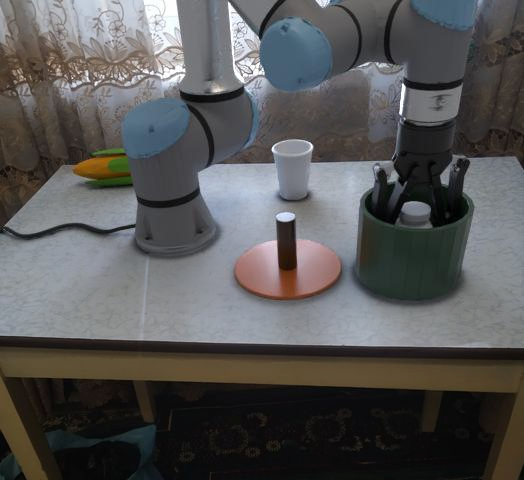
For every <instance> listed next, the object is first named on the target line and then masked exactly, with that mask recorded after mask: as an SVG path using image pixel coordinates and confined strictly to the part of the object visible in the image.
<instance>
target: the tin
mask: <svg viewBox="0 0 524 480" xmlns="http://www.w3.org/2000/svg"><path fill="white" fill-rule="evenodd" d="M387 182H388V187H387V194H386V200H385V206H384V212H385V210H386V207H387V205H388V203H389V200H390V198H391V196H392V193H393V191H394V188H395V182H396V180H393V181H387ZM441 184H442V188H441V190H442V196H443V202H444V208H445V213H446V203H447V194H448V184H445V183H442V182H441ZM373 189H374V186H373V187H371V188H369V189H368V190H367V191H365V192H364V193H363V194H362V195H361V197H360V198H359V202H358V217H357V218H358V220H357V235H356V236H357V237H356V252H355V264H354V265H355V267H354V268H355V269H354V273H355V276H356V277H357V280H358V281H359V283H360V284H361V285H362V286H363V287H364V288H366V290H369V291H371V292H372V293H374V294H376V295H379V296H381V297H384V298H387V299H393V300H397V301H403V302H407V301H408V302H419V301H427V300H428V301H429V300H434V299H437V298H439V297H443V296H445V295H446V294H448V293H450V292H451V291H452V292H453V291H454V290H455V289H456V288H457V286H458V284H459V281H460V277H461V273H462V268H463V262H464V258H465V253H466V249H467V244H468V240H469V237H470V231H471V226H472V222H473V217H474V214H475V208H476V207H475V204H474V201H473V199H472V198H471V197H470V196H469V195H468V194H467V193H466V192H464V191H463V193H462V201H461V209H460V217H459V220H458V221H457V222H455V223H450V224H448V225H445V226H442V227H435V228H407V227H400V226H396V225H392V224H388V223H385V222H383V221H381V220H378V219H376V218H375V217H374V216H372V215H371V214H370V209H371V202H372V195H373ZM406 202H422V203H425V204H427V205H429V206H430V208H431V202H430V197H429V192H428V186H426V185H419V186H417V187H413V189H412V191H411V193H410V194H409V195H408V196H407V198H406V200H405V203H406ZM384 212H383V215H384ZM398 218H399V216H398ZM429 221H430V222H435V221H434V218H433V213H432V208H431V213H430V218H429Z"/></svg>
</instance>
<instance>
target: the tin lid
mask: <svg viewBox="0 0 524 480" xmlns="http://www.w3.org/2000/svg"><path fill="white" fill-rule="evenodd" d="M275 229H276V231H275V232H276V239H274V240H273V239H272V240H268V241H264V242H261V243H259V244H256V245H254V246H252V247H250V248H249V249H247V250H246V251H244V252H243V253H242V254H241V255H240V256H239V257H238V259H237V260H236V262H235V265H234V275H235V279H236V281H237V282H238V284H239V285H240V286H241V287H242V288H243V289H244V290H246V291H247V292H249V293H251V294H253V295H256V296H259V297H261V298H266V299H271V300H280V301H284V300H286V301H287V300H288V301H289V300H299V299H305V298H309V297H312V296H316V295H318V294H320V293H323V292H325V291H326V290H327V289H329V288H331V287H332V286H333V285H334V284H335V283H336V282H337V281H338V279H339V278H340V275H341V273H342V262H341V259H340V257H339V255H338V254H337V253H336V251H334V250H333V249H331V248H330V247H329V246H327V245H325V244H323V243H321V242H317V241H314V240H309V239H304V238H297V215H296V214H295V213H293V212H289V211H288V212H287V211H284V212H280V213H278V214H277V215H276V216H275Z"/></svg>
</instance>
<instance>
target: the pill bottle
mask: <svg viewBox="0 0 524 480" xmlns="http://www.w3.org/2000/svg"><path fill="white" fill-rule="evenodd" d="M430 213H431V208H430V206H429V205H427V204H425V203H422V202H406V203H404V205H403V207H402V210H401V212H400V214H399V218H398V219H397V221H396V223H395V225H396V226H400V227H407V228H433V226H432V223H431V222H430V221H429V218H430Z"/></svg>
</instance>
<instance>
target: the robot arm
mask: <svg viewBox="0 0 524 480" xmlns="http://www.w3.org/2000/svg"><path fill="white" fill-rule="evenodd" d="M175 1H176V9H177V10H176V11H177V16H178V25H179V33H180V39H181V40H180V41H181V47H182V49H181V50H182V54H183V64H184V70H185V71H184V72H185V74H184V76H183V77H182V79H181V81H180V82H179V83H178V91H179V96H180V98H176V97H160V98H157V99H155V100H152V99H151V100H148V101H145V102H142V103H140V104H138V105H136V106H134V107H133V108H131V109H130V110H129V111H127V112H126V114H125V115H124V116H123V118H122V120H121V124H120V133H121V138H122V139H121V140H122V148H123V149H124V151H125V153H126V157H127V161H128V165H129V169H130V173H131V177H132V182H133V184H132V185H133V190H134V193H135V194H134V195H135V197H136V202H137V203H136V204H137V207H136V216H135V223H131V224H126V225H121V226H117V227H114V228H110V229H102V228H97V227H94V226H92V225H89V224H87V223H84V222H69V223H68V222H67V223H62V224H59V225H56V226H53V227H50V228H47V229H44V230H41V231H37V232H33V233H19V232H17V231H16V230H13V229H12V228H10V227H8V226H6V225H4V226H1V227H0V234H2V233H3V232H4V231H6V232H8V233H9V234H11V233H12V234H11V235H13V236H15V238H16V237H17V238H20V239H32V238H38V237H41V236H44V235H47V234H50V233H53V232H55V231H60V230H62V229H66V228H83V229H86V230H89V231H92V232H94V233H98V234H105V235H107V234H108V235H109V234H113V233H117V232H121V231H126V230H132V229H134V236H135V240H136V245H137V246H138V247H139V249H141V250H142V251H144V252H145V253H148V254H149V253H152V254H157V255H178V254H182V253H183V254H185V253H187V252H191V251H194V250H196V249H199V248H201V247H203V246H204V245H206V244H208V243H209V242H210V241H211V240H212V239H213V238H214V236H215V235H216V229H217V228H216V222H215V218H214V216H213V215H212V213H211V211H210V209H209V207H208V205H207V203H206V201H205V199H204V197H203V195H202V192H201V187H200V180H199V173H200V172H202V171H204V170H206V169H208V168H210V167H212V166H214V165H216V164H218V163H221V162H222V161H224V160H226V159H229V158H233V157H235V156H237V155H238V154H240V153H241V152H243V150H245V149H246V148H248V147H249V146H251V144H252V143H253V142H254V140H255V139H256V136H257V134H258V132H259V126H260V111H259V106H258V103H257V101H256V100H254V99H253V97H254V96H253V94H252V92H251V91H250V90H249V89H248V88H247V87H246V86H245V80H244V79H245V78H243V77H242V76H241V75H240V73H238V72H237V71H236V69H235V57H234V56H235V55H234V42H233V40H234V39H233V29H232V28H233V27H232V16H231V15H232V13H231V8H233V10H234V11H235V12H236V13H237V14H238V16H239V17H240V19H242V21H243V22H244V23H245V25H247V27H248V28H249V29H250V31H251V32H252V33H253V34H254V36H255V37H256V38H257V39H258V40H259V49H258V55H259V57H258V58H259V63H260V66H262V69H263V72H264V77H265V79H266V80H267V82H268V83H269V84H270V85H271V86H272V88H274V89H276V90H278V91H280V92H282V93H284V94H285V93H286V94H295V93H297V92H298V93H299V92H302V91H305V90H310V89H314V88H316V87H318V86H320V85H322V83H325V82H326V81H328V80H330V79H333V78H334V77H336V76H338V75H343V74H344V73H347V72H349V71H351V70H354V69H357V68H359V67H360V66H362V65H364V64H367V63H376V64H377V63H379V64H385V65H387V64H388V65H393V66H403V72H402V85H401V95H400V101H399V102H400V103H399V111H398V113H399V115H400V116H401V117H400V118H399V120H398V123H397V133H396V142H395V143H396V144H395V151H394V154H393V156H392V158H391V160H390V161H387V162H385V163H382V164H380V163H379V162H376V163H374V164H373V165H372V172H373V176H374V181H373V182H374V183H373V187H374V189H373V195H372V202H371V209H370V214H371V215H372V216H374V217H375V218H376V219H378V220H381V221H383V222H385V223H388V224H392V225H395V223H396V221H397V219H398V216H399V214H400V212H401V210H402V207H403V205H404V203H405V200H406V198H407V196H408V195H409V194H410V193H411V191H412V189H413V187H417V186H419V185H426V186H428V192H429V197H430V202H431V208H432V213H433V218H434V221H435V222H431V223H432V226H433V228H435V227H442V226H445V225H448V224H450V223H455V222H457V221H458V220H459V217H460V209H461V201H462V193H463V192H464V184H465V177H466V174H467V172H468V169H469V168H470V165H471V160H470V159H468V158H467V157H466V156H465V155H464V154H463V153H457V154H453V152H452V147H453V143H454V138H455V132H456V127H457V120H456V119H455V117H457V115H458V114H459V108H460V104H461V103H460V102H461V96H462V92H463V84H464V80H465V79H464V78H465V72H466V71H465V70H466V66H467V62H468V56H469V51H470V45H471V41H472V35H473V28H474V27H475V23H476V19H475V15H476V8H477V0H329V2H328V3H327V4H326V5H325V6H324V7H323V6H321V5H320V4H319V3H318V1H317V0H175ZM447 168H449V174H448V175H449V176H448V184H447V185H448V194H447V203H446V213H445V208H444V202H443V196H442V190H441V188H442V184H443V183H442V178H441V176H442V174H443V173H444V172H445V170H446V169H447ZM393 171H395V172H396V174H397V177H396V179H395V181H396V182H395V188H394V191H393V193H392V196H391V198H390V200H389V203H388V205H387V207H386V210H385V212H384V206H385V200H386V194H387V187H388V182H389V180H391V177H392V173H393ZM441 183H442V184H441ZM383 212H384V215H383ZM3 229H5V230H3Z"/></svg>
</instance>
